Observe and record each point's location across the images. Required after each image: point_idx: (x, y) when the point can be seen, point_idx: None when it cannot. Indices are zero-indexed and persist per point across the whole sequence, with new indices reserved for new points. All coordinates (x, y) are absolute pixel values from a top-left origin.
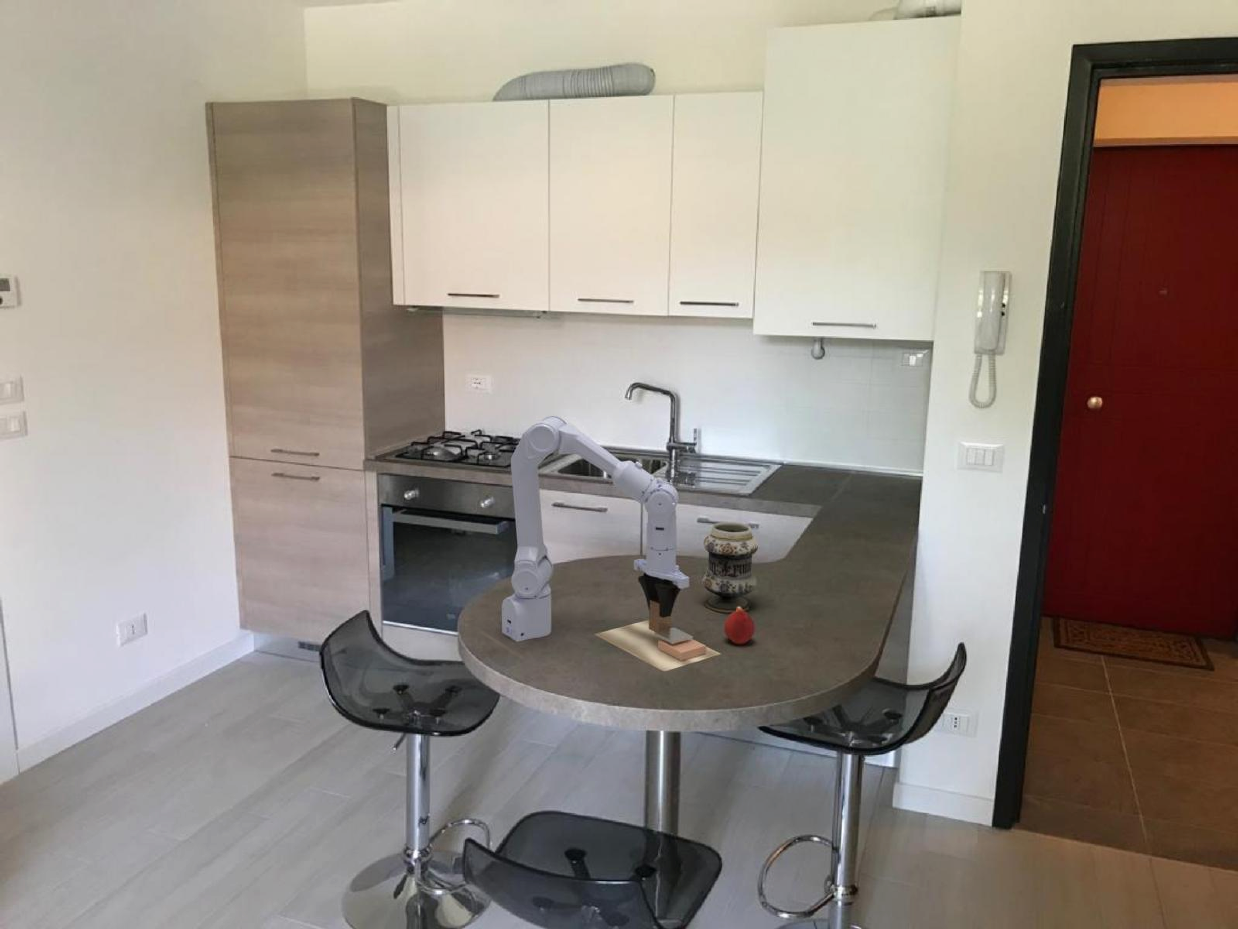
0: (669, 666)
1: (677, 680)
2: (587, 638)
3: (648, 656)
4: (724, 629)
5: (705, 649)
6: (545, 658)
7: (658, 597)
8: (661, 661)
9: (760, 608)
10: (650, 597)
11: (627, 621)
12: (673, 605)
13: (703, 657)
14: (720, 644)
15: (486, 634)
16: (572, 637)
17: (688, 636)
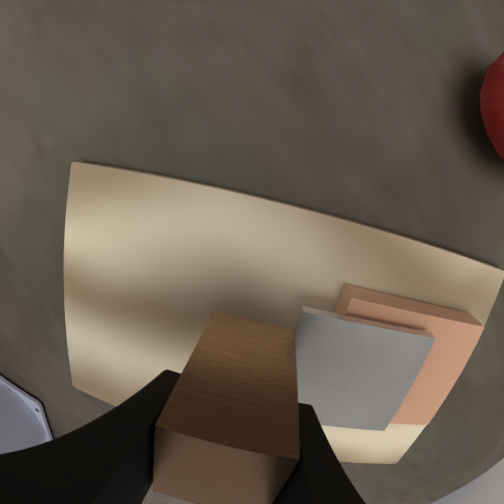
0: (398, 443)
1: (431, 447)
2: (72, 387)
3: None
4: (497, 140)
5: (476, 321)
6: None
7: (146, 442)
8: (364, 438)
9: None
10: (141, 491)
11: (31, 205)
12: (335, 456)
13: None
14: (448, 149)
15: None
16: (54, 395)
17: (422, 355)
